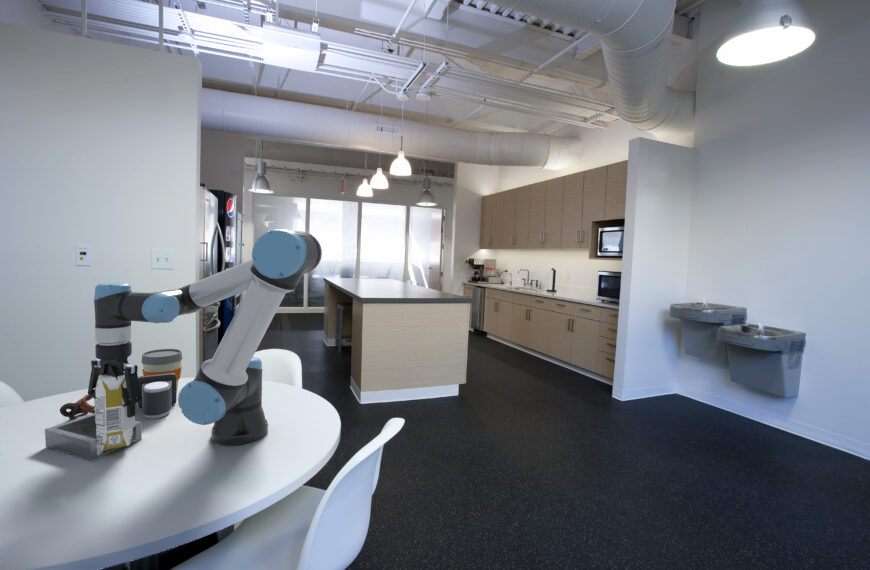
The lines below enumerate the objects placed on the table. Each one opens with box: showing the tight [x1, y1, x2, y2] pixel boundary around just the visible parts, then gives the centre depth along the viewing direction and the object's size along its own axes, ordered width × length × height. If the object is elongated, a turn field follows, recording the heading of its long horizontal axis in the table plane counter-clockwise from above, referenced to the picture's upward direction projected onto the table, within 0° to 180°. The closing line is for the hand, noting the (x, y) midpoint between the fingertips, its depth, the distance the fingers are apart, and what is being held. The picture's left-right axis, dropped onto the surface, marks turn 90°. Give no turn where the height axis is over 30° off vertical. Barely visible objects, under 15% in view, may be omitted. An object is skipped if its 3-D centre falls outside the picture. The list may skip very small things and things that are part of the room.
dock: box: [44, 413, 143, 461], centre depth 114 cm, size 18×13×5 cm
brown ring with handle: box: [59, 394, 95, 421], centre depth 129 cm, size 12×10×8 cm
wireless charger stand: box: [137, 373, 178, 419], centre depth 136 cm, size 11×13×11 cm
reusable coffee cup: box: [140, 348, 183, 393], centre depth 152 cm, size 13×13×15 cm
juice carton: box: [96, 374, 133, 451], centre depth 110 cm, size 8×9×19 cm
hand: (115, 424), depth 111 cm, fingers closed on juice carton, 9 cm apart
